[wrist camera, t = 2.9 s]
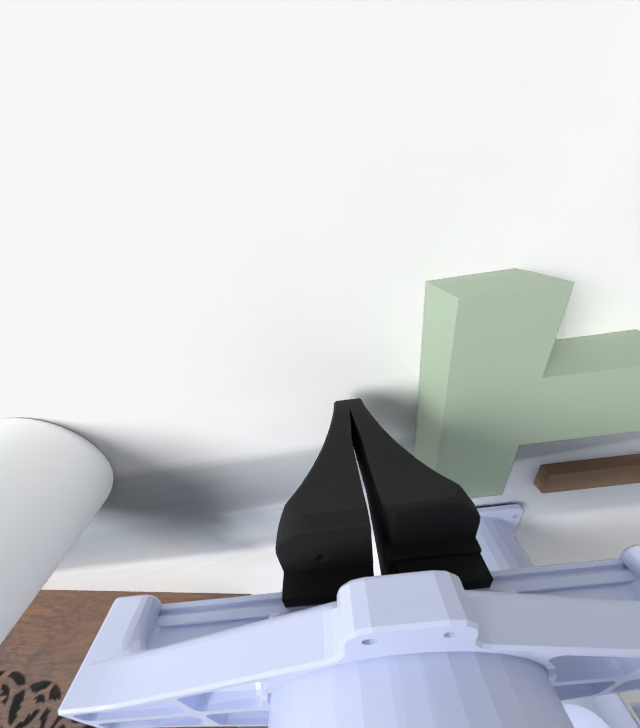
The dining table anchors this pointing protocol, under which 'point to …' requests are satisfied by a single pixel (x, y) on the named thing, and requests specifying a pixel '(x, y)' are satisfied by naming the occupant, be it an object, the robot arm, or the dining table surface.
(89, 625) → the tissue box cover
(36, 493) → the cup
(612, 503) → the dining table surface
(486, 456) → the t block
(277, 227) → the dining table surface
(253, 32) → the dining table surface
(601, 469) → the bracket
